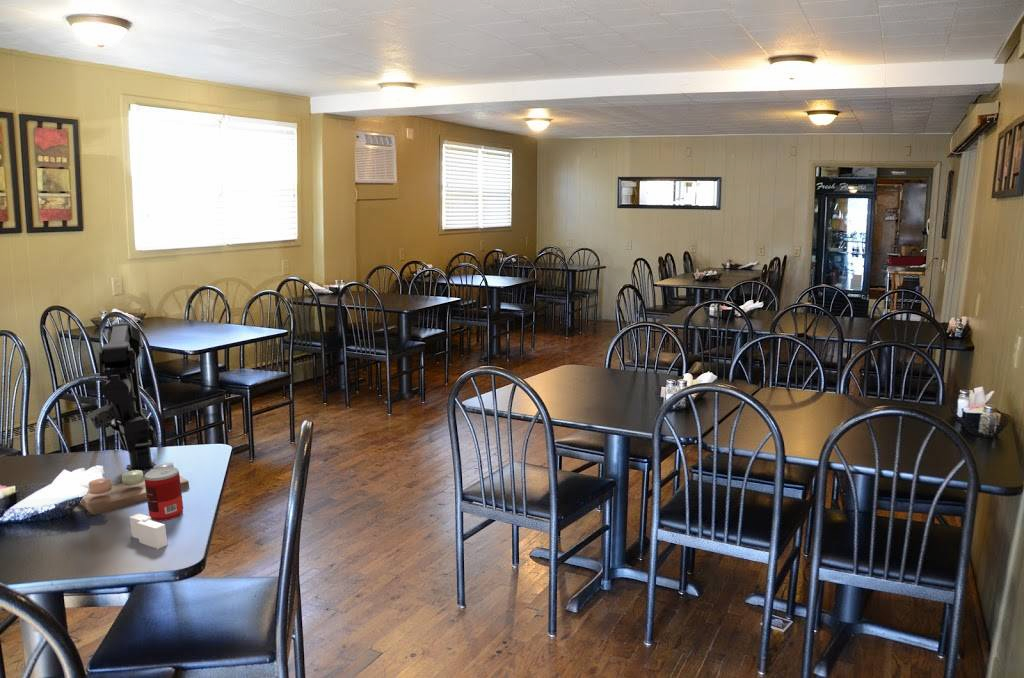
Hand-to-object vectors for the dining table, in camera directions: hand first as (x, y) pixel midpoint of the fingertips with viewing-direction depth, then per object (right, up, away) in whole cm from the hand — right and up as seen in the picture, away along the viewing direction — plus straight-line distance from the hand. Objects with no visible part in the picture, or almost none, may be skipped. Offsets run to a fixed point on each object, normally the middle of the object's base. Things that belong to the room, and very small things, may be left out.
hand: (129, 451), depth 211 cm
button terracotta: (-6, -10, -4) cm, 12 cm away
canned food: (+15, -14, -12) cm, 23 cm away
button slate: (+6, -7, +7) cm, 12 cm away
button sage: (0, -9, +2) cm, 9 cm away
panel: (0, -12, +2) cm, 12 cm away
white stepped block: (+17, -17, -25) cm, 35 cm away
